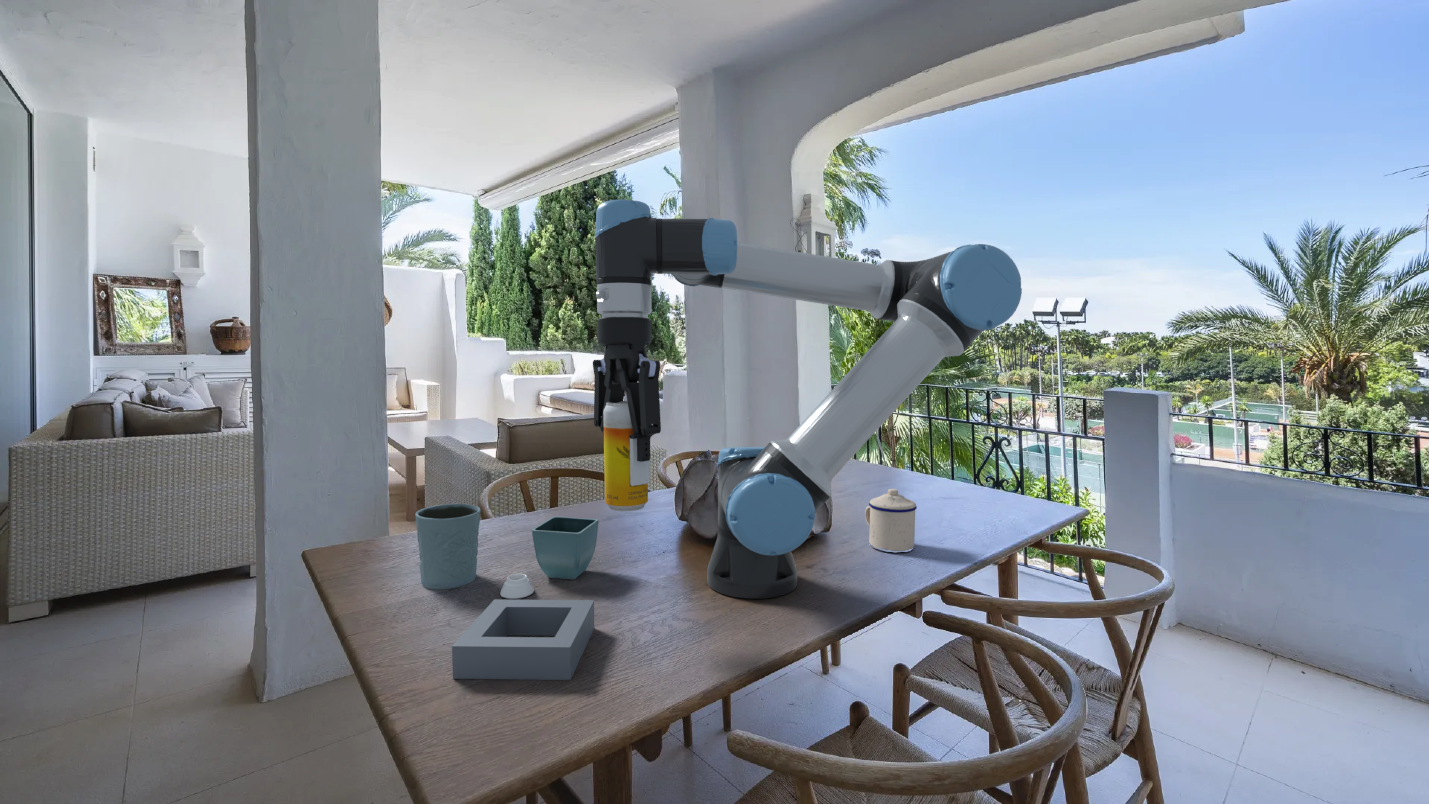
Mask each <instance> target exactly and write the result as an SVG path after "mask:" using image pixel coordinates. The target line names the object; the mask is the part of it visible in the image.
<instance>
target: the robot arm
mask: <svg viewBox="0 0 1429 804" xmlns="http://www.w3.org/2000/svg"><path fill="white" fill-rule="evenodd" d="M595 215H596V216H595V217H596V218H595V235H594V243H595V244H594V245H595V246H594V247H595V268H596V269H595V270H596V271H595V272H596V274H595V276H596V278H595V279H596V292H595V296H596V303H597V304H596V308H597V309H596V311H597V314H599V315H601V317H600V318H598V319H597V320H596V321H597V322H596V326H597V327H596V338H597V343H598V345H600V346H601V345H602V346H605V350H604V354H603V358H602V359H594V360H593V361H592V368H593V375H594V392H593V393H594V395H593V396H594V397H593V399H594V400H593V402H594V403H593V425H594V427H596V428H597V427H598V428H599V429H600V431H601V433H602V434H603V437H602V438H603V441H602V442H603V443H604V414H603V411H604V409H605V406H606V403H607V402H612V403H618V402H621V401H624V399H625V396H626V401H627V402H628V407H629V413H630V418H631V424H632V429H633V434H631V435H629V437H630V485H632V486H635V485H641V484H647V483H648V484H650V483H651V481H650V461H651V460H650V459H651V438H652V437H653V436H655V435H656V434H660V433H661V430H662V425H661V405H660V404H661V403H660V402H661V401H660V383H659V382H660V381H659V377H660V372H661V371H660V370H661V362H660V361H659V360H651V359H649V358H648V355H647V352H646V346H649V345H651V344H652V339H653V337H652V320H651V318H648V315H650V314H652V312H653V310H652V308H653V307H652V281H651V280H652V279H651V277H652V274H656V275H663V274H665V275H666V274H667V275H672V276H673V277H674V279H675V280H676V281H677V282H678V283H680V284H682V285H685V286H688V287H697V286H704V287H709V288H710V287H711V288H718V289H727V290H730V291H731V290H732V291H738V292H746V293H752V294H757V295H758V294H759V295H764V296H771V297H775V298H776V297H778V298H784V299H789V300H795V301H802V302H809V303H814V304H820V305H821V304H823V305H828V306H834V307H840V308H848V309H851V310H852V309H854V310H860V311H866V312H869V313H870V315H872V317H873V318H874V319H877V320H883V321H889V322H893V323H892V324H891V325H890V326H889V327H888V329H887V330H886V331H885V332H884V333H883V334H882V335H881V336H880V337H879V338H878V339H877V340H876V341H875V343H874V344H873V345H872V346H871V347H870V348H869V349H868V351H866V353H865V354H864V355H863V356H862V357H861V358H860V359H859V360H858V361H857V363H855V365H853V366H852V368H851V369H850V370H849V371H848V372H847V373H846V375H845V376H844V377H842V378H841V380H840V381H839V382H838V383H837V384H836V385H835V386H834V387H833V388H832V390H831V391H830V392H828V394H827V395H826V396H825V397H824V398H823V399H822V400H821V402H820V403H819V404H818V405H817V406H816V407H815V408H814V409H813V411H811V412H810V414H808V415H807V417H806V418H805V419H804V420H803V421H802V422H800V423H801V424H799V425H798V427H797V428H796V429H795V430H794V431H793V432H792V433H791V434H790V436H788V438H785V439H779V440H778V439H777V440H776V439H775V440H774V439H773V440H771V441H769V443H768V444H767V445H766V446H736V447H735V446H733V447H730V446H729V447H723V448H722V449H720V450H719V452H718V459H717V463H716V468H717V471H718V472H717V476H718V477H717V490H718V491H717V539H716V541H715V543H714V547H713V550H712V553H711V556H710V558H709V562H708V565H707V570H706V571H707V573H706V575H707V577H706V579H707V580H706V582H707V585H708V586H709V587H710V588H711V589H712V590H714V591H715V592H718V593H719V594H723V595H726V596H729V597H733V598H740V599H754V600H755V599H757V600H758V599H759V600H760V599H771V598H772V599H773V598H775V597H781V596H784V595H786V594H789V593H791V592H793V591H794V590H796V588H797V586H798V569H797V566H796V561H795V559H794V556H793V553H792V552H793V551H794V550H796V549H798V548H799V547H800V546H801V545H802V544H804V542H806V540H807V539H808V538H809V536H810V534H811V532H812V531H813V528H814V524H815V519H816V513H817V512H818V511H819V510H820V509H821V508H822V507H824V504H825V503H826V502H827V501H828V500H829V499H830V498H831V497H832V481H833V478H835V476H837V474H838V473H839V472H840V471H841V470H842V469H843V468H844V467H845V465H847V463H848V462H849V461H850V460H851V459H852V458H853V456H855V455H856V453H858V452H859V450H860V449H861V448H863V446H864V445H865V444H866V443H867V441H868V440H869V439H870V438H871V437H872V436H873V435H874V434H875V433H876V432H877V431H878V430H879V429H880V428H881V426H883V425H884V423H885V422H886V421H887V420H888V419H889V417H891V415H893V413H894V412H896V410H897V409H898V408H899V407H900V406H901V405H902V403H904V401H905V400H907V398H908V397H909V396H910V395H911V394H912V393H913V392H914V390H915V389H916V388H917V387H918V386H919V385H920V384H921V383H922V382H923V381H924V379H925V378H927V376H929V374H930V373H931V372H932V371H933V370H934V369H935V368H936V367H937V365H939V363H941V361H942V360H943V359H944V358H947V357H959V356H962V354H963V353H964V352H965V351H966V350H967V349H968V348H969V347H970V346H971V345H972V343H973V342H975V340H976V339H977V338H978V337H979V336H980V335H981V334H982V333H983V332H984V331H990V330H992V329H995V328H997V327H998V326H1001V325H1003V324H1004V323H1006V322H1007V321H1008V320H1009V319H1010V318H1011V317H1012V316H1013V315H1014V314H1015V312H1016V311H1017V310H1018V307H1019V305H1020V303H1021V299H1022V294H1023V293H1022V291H1023V288H1022V277H1021V274H1020V271H1019V269H1018V267H1017V264H1016V263H1015V261H1014V260H1013V259H1012V258H1011V257H1010V256H1009V254H1008V253H1006V252H1005V251H1004V250H1002V249H1000V248H998V247H997V246H994V245H990V244H987V243H986V244H984V243H978V244H977V243H976V244H965V245H962V246H959V247H956V248H955V249H954V250H952V251H948V252H945V253H943V254H939V255H937V256H934V257H929V258H927V259H922V260H915V261H899V260H898V261H897V260H890V259H886V260H883V261H882V262H881V263H880V264H876V263H875V264H874V263H870V262H869V263H868V262H862V261H856V260H850V259H844V258H838V257H831V256H825V255H818V254H814V253H813V254H812V253H807V252H800V251H796V250H795V251H793V250H789V249H788V250H787V249H781V248H775V247H770V246H762V245H756V244H749V243H742V242H738V230H737V229H738V228H737V225H736V224H735V223H734V222H733V221H732V220H730V219H719V218H714V217H708V218H657V217H652V213H651V209H650V206H649V205H648V204H647V203H645V202H643V201H639V200H630V199H611V200H606V201H603V202H602V203H601V204H599V206H598V207H597V209H596V213H595ZM640 427H641V428H640ZM603 473H604V472H603ZM604 477H605V473H604Z"/></svg>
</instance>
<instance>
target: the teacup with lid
mask: <svg viewBox="0 0 1429 804" xmlns="http://www.w3.org/2000/svg"><path fill="white" fill-rule="evenodd" d="M916 504H917V503H915V501H914V500H911V499H909V498H907V497H905V496H903V495H902V494H900V493H899V490H898V489H897V488H889V489H888V490H887V493H884V494H882V495H880V496H876V497H873V498H871V499H870V500H869V503H868V505H867V506H866V508H865V510H864V517H865V522H866V524H867V526H868V527H869V532H868V533H869V534H868V535H869V536H868V538H869V539H868V540H869V541H868V544H869V543H870V544H871V545H873V546H874V547H876V548H881V549H885V550H891V551H905V550H909V549H912V548H913V547H914V548H915V532H916V531H915V530H916V510H917V507H918V506H917V505H916ZM870 544H869V545H870Z"/></svg>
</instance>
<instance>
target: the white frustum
mask: <svg viewBox="0 0 1429 804" xmlns="http://www.w3.org/2000/svg"><path fill="white" fill-rule="evenodd" d="M534 589H535V588H534V586H533V585H532V583H531V581H530V579H529V578H528V576H527V575H526V574H525V573H513V574H510V575H508V576H507V577H506V581H504V583H503V585H502V587H501V590H500V596H501V597H502V598H504V599H507V600H521V599H524V598H526V597H528V596H530V595H532V594H533V593H534Z"/></svg>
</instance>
